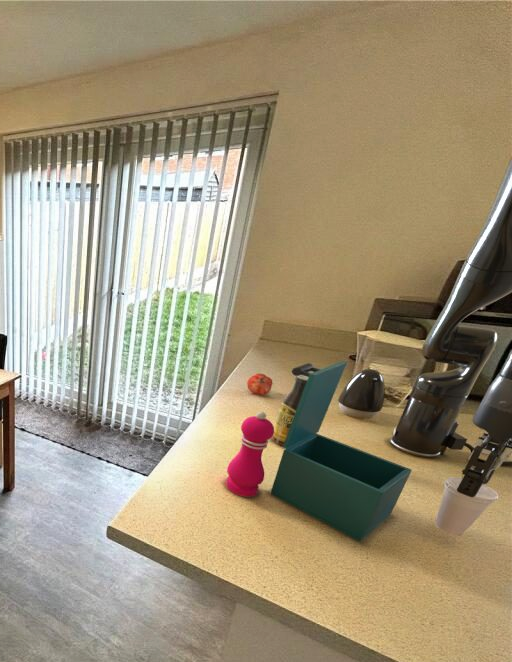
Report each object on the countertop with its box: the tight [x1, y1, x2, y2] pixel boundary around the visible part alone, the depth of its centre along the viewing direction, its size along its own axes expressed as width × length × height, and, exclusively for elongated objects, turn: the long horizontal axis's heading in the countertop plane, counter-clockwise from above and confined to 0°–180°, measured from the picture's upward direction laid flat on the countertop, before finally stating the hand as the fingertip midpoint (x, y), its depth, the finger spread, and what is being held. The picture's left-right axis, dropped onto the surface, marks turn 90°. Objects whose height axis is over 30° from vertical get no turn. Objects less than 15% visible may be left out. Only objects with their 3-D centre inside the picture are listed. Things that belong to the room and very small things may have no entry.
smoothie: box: [434, 470, 499, 537], centre depth 72 cm, size 6×6×14 cm
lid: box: [282, 360, 348, 450], centre depth 85 cm, size 17×14×6 cm
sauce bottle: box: [270, 375, 309, 447], centre depth 104 cm, size 6×6×20 cm
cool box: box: [270, 432, 413, 542], centre depth 83 cm, size 17×14×12 cm
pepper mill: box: [225, 411, 274, 498], centre depth 87 cm, size 7×7×20 cm
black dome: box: [337, 368, 386, 420], centre depth 119 cm, size 10×10×15 cm
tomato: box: [246, 373, 273, 396], centre depth 137 cm, size 7×7×10 cm
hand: (471, 487), depth 70 cm, fingers closed on smoothie, 6 cm apart
